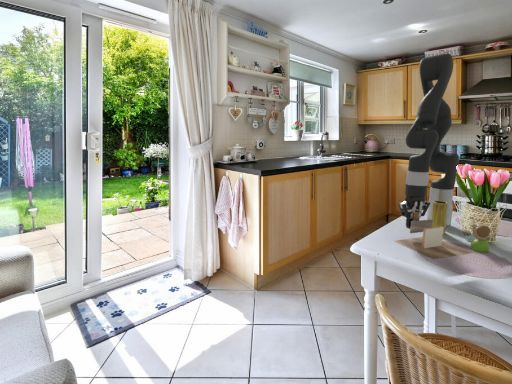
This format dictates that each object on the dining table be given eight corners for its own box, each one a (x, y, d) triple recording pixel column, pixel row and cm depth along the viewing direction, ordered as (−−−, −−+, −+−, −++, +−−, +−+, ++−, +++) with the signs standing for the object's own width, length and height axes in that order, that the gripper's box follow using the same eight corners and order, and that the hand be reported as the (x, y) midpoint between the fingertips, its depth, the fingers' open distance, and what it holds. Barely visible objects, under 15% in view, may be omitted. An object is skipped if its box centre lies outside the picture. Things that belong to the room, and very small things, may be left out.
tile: (438, 244, 117) (440, 226, 116) (441, 245, 116) (443, 227, 114) (421, 247, 114) (423, 228, 113) (424, 248, 113) (426, 229, 112)
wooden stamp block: (398, 228, 123) (400, 211, 122) (418, 226, 126) (420, 209, 125) (410, 233, 117) (412, 215, 116) (431, 231, 120) (433, 213, 119)
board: (429, 239, 127) (429, 236, 126) (472, 256, 110) (473, 252, 110) (393, 244, 121) (393, 240, 120) (432, 263, 104) (433, 258, 104)
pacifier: (461, 245, 122) (480, 247, 119) (463, 229, 120) (482, 231, 117) (460, 239, 128) (478, 241, 125) (461, 224, 127) (480, 226, 124)
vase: (447, 238, 128) (451, 204, 125) (430, 237, 129) (435, 203, 126) (441, 233, 134) (446, 200, 131) (426, 232, 135) (429, 200, 132)
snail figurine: (463, 250, 115) (468, 218, 113) (481, 250, 115) (486, 219, 113) (473, 256, 110) (478, 223, 108) (492, 256, 110) (497, 223, 107)
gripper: (423, 181, 125) (418, 223, 129) (394, 182, 121) (390, 226, 124) (439, 184, 118) (433, 228, 122) (409, 185, 114) (404, 231, 117)
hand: (411, 227), depth 123 cm, fingers closed on wooden stamp block, 2 cm apart
